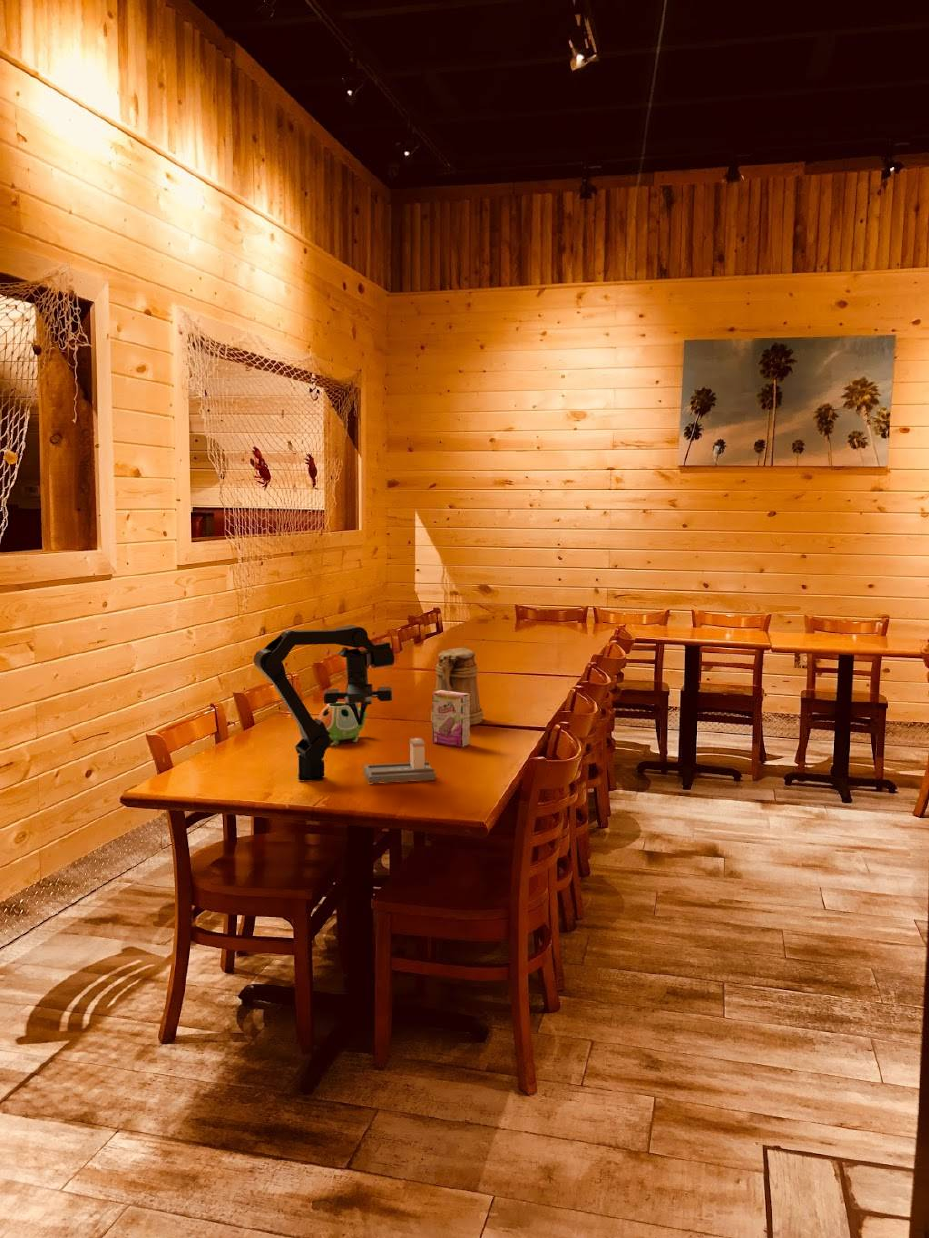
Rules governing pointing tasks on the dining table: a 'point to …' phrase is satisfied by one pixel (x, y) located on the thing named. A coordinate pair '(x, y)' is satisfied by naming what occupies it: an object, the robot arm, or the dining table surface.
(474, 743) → the dining table surface
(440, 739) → the candy bar box
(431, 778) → the toy road segment
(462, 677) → the tankard
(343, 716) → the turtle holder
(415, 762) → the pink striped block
